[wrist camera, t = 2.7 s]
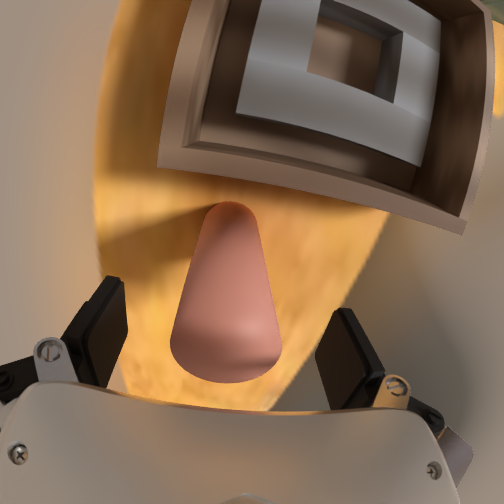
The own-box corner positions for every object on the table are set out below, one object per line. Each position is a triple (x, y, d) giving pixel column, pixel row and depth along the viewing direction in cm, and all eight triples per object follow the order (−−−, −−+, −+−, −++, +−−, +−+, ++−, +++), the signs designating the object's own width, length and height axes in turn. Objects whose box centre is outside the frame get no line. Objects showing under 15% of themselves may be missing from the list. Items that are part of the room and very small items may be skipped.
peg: (206, 197, 19) (170, 298, 8) (262, 206, 19) (295, 314, 9) (199, 248, 21) (170, 376, 10) (251, 255, 21) (267, 386, 10)
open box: (236, -51, 10) (238, -102, 3) (439, 23, 12) (490, 11, 6) (184, 152, 17) (156, 167, 11) (408, 202, 20) (462, 235, 13)
